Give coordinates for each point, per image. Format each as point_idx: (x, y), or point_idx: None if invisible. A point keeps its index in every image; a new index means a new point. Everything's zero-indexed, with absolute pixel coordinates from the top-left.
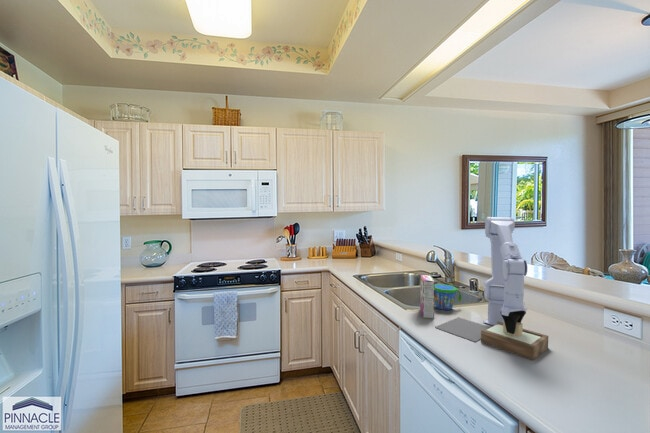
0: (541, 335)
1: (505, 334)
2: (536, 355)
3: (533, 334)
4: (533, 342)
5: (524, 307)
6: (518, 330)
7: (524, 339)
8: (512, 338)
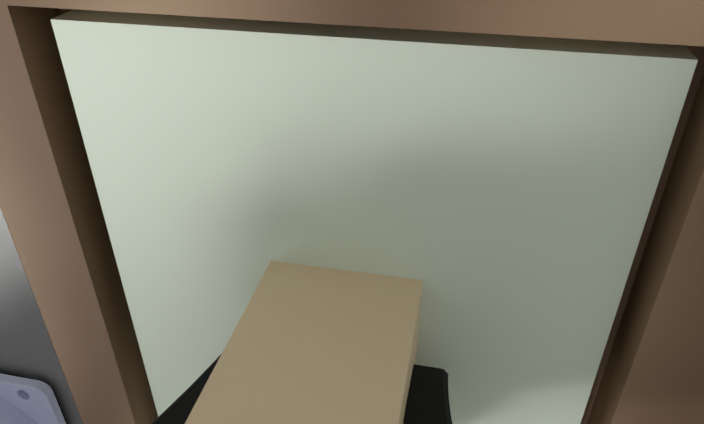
0: (14, 26)
1: (474, 419)
2: None
3: (67, 144)
4: (566, 36)
5: None
6: (407, 377)
7: (456, 199)
8: (643, 346)
